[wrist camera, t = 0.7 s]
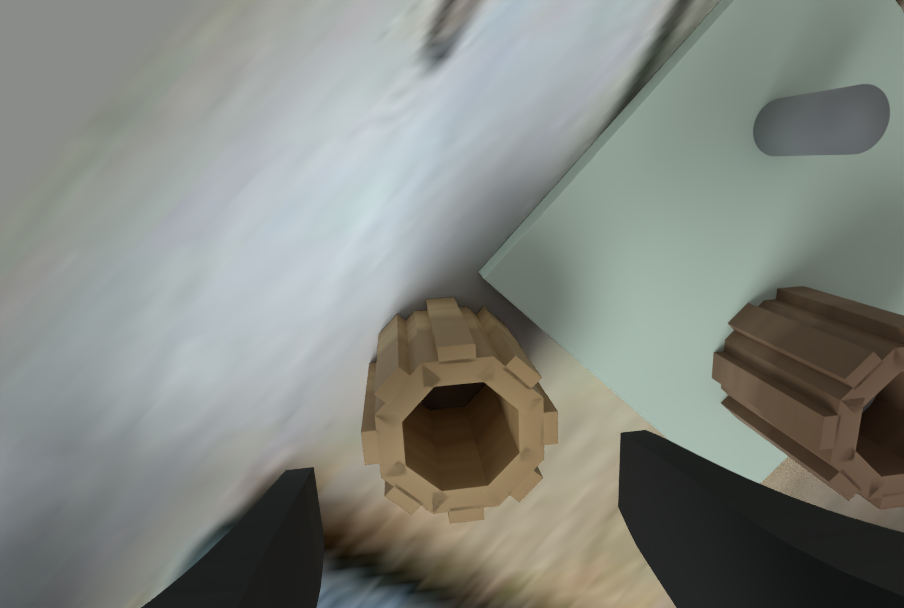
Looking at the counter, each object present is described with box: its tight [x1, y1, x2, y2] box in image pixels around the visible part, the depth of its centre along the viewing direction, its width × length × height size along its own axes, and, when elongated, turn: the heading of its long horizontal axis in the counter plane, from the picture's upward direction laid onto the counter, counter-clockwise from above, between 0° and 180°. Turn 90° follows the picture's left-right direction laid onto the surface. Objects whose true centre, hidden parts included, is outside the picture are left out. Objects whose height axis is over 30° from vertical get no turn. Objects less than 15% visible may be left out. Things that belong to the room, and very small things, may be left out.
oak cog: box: [361, 297, 558, 524], centre depth 17 cm, size 5×5×5 cm
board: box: [479, 0, 904, 484], centre depth 17 cm, size 14×15×4 cm
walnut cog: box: [712, 286, 904, 509], centre depth 17 cm, size 5×5×5 cm
